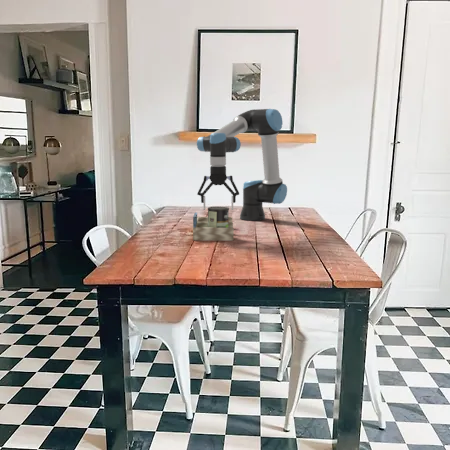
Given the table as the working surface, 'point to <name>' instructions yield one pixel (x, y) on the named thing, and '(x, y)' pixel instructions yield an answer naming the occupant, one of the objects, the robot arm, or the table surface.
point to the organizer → (211, 230)
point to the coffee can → (218, 217)
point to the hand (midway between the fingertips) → (218, 209)
